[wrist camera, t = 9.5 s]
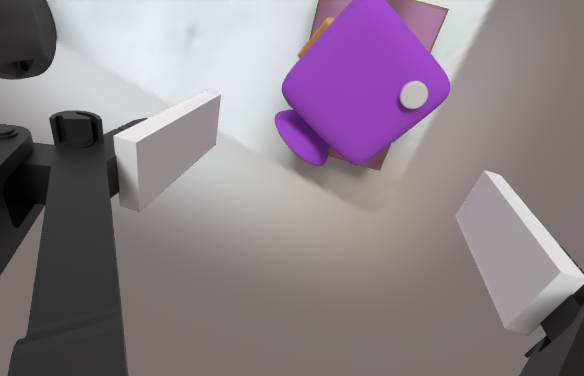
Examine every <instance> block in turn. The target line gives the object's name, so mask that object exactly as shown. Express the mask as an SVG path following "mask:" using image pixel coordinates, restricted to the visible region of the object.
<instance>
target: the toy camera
mask: <svg viewBox="0 0 584 376" xmlns="http://www.w3.org/2000/svg"><path fill="white" fill-rule="evenodd" d="M298 56H299V57H300V60H299V61H298V62H297V63H296V64H295V65H294V67H293V68H292V69H291V70H290V72H289V73H288V74H287V76H286V78H285V79H284V82H283V84H282V93H283V96H284V98H285V99H286V101H287V102H288V105H289V106H290V107H291V108H293V110H287V111H282V112H279V113H277V114H276V116H275V124H276V127H277V129H278V132H279V134H280V135H281V137H282V139H283V140H284V141H285V143H286V144H287V145H288V146H289V148H290V149H291V150H292V151H293V152H294V153H295V154H296V155H298V156H299V157H300V158H301V159H303V160H304V161H306V162H308V163H310V164H312V165H315V166H322V165H324V164H325V162H326V160H327V157H328V153H329V148H330V146H331V147H332V148H333V149H334V150H335V151H336V152H337V153H338V154H339V155H340V156H341V157H342V158H344V159H345V160H346V161H348V162H349V163H351V164H353V165H360V164H363V163H365V162H367V161H369V160H370V159H372V158H373V157H375V156H376V155H377V154H379V153H380V152H381V151H382V150H384V149H385V148H386V147H388V146H389V145H390V144H391V143H393V142H394V141H395V140H397V139H398V138H399V137H400V136H402V135H403V134H404V133H406V132H407V131H408V130H409V129H411V128H412V127H413V126H415V125H416V124H417V123H418V122H420V121H421V120H422V119H423V118H425V117H426V116H427V115H428V114H430V113H431V112H432V111H433V110H435V109H436V108H437V107H438V106H439V105H440V104H441V103H442V102H443V101H444V100H445V99H446V98H447V96H448V94H449V92H450V83H449V79H448V77H447V75H446V74H445V72H444V70H443V69H442V68H441V66H440V65H439V64H438V62H437V61H436V60H435V59H434V57H433V56H432V55H431V54H430V53H429V51H428V50H427V49H426V48H425V47H424V45H423V44H422V43H421V42H420V41H419V39H418V38H417V37H416V36H415V35H414V33H413V32H412V31H411V30H410V29H409V27H408V26H407V25H406V24H405V23H404V21H403V20H402V19H401V18H400V17H399V15H398V14H397V13H396V12H395V11H394V10H393V8H392V7H391V6H390V5H389V4H388V3H387V2H386V1H385V0H352V1H351V2H350V3H349V4H348V5H347V6H346V7H345V8H344V10H343V11H342V12H341V13H340V14H339V15H338V16H337V17H336V18H335V19H334V18H333V17H331V18H327V19H326V20H325V21H324V22H323V24H322V25H321V26H320V27H319V29H318V30H317V31H316V32H315V34H314V35H313V36H312V37H311V39H310V40H309V41H308V42H307V44H306V45H305V46H304V48H303V49H302V50H301V51H300V53H299V54H298Z"/></svg>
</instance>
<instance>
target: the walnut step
mask: <svg viewBox="0 0 584 376" xmlns="http://www.w3.org/2000/svg"><path fill="white" fill-rule="evenodd" d="M351 1H352V0H319V1H318V5H317V9H316V14H315V18H314V22H313V27H312V31H311V35H310V39H311V37H312V36H313V35H314V34H315V32H316V31H317V30H318V29H319V27H320V26H321V25H322V24H323V22H324V21H325V20H326V19H327V18H331V17H333V18H334V19H335V18H336V17H337V16H338V15H339V14H340V13H341V12H342V11H343V10H344V8H345V7H346V6H347V5H348V4H349V3H350V2H351ZM385 1H386V2H387V3H388V4H389V5H390V6H391V7H392V8H393V10H394V11H395V12H396V13H397V14H398V15H399V17H400V18H401V19H402V20H403V21H404V23H405V24H406V25H407V26H408V27H409V29H410V30H411V31H412V32H413V33H414V35H415V36H416V37H417V38H418V39H419V41H420V42H421V43H422V44H423V45H424V47H425V48H426V49H427V50H428V51H429V53H430V52H431V50H432V47H433V45H434V43H435V40H436V38H437V36H438V33H439V31H440V29H441V26H442V24H443V22H444V19H445V17H446V15H447V12H448V10H449V9H447V8H443V7H439V6H435V5H432V4H428V3H424V2H420V1H416V0H385ZM390 145H391V144H390ZM390 145H389V146H388V147H386V148H385V149H384V150H382V151H381V152H380V153H379V154H377V155H376V156H375V157H373V158H372V159H370V160H369V161H367V162H365V163H363V164H360V165H362V166H365V167H369V168H372V169H375V170H379V171H380V169H381V166H382V164H383V162H384V159H385V157H386V155H387V152H388V150H389V148H390ZM328 155H329V156H332V157H335V158H339V159H342V160H345V159H344V158H342V157H341V156H340V155H339V154H338V153H337V152H336V151H335V150H334V149H333V148H332V147H331V146H330V148H329V153H328ZM345 161H346V160H345Z"/></svg>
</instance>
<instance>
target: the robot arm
mask: <svg viewBox="0 0 584 376" xmlns="http://www.w3.org/2000/svg"><path fill="white" fill-rule="evenodd" d="M55 50H56V33H55V27H54V23H53V19H52V16H51V13H50V10H49V7H48V5H47V3H46V1H45V0H0V78H2V79H23V78H29V77H34V76H38V75H40V74H42V73H44V72H45V71H46V70H47V69H48V68H49V67H50V65H51V63H52V61H53V59H54V55H55ZM220 97H221V94H218V93H215V92H211V91H208V90H205V91H203V92H201V93H199V94H197V95H195V96H193V97H191V98H189V99H187V100H185V101H183V102H181V103H179V104H177V105H175V106H173V107H171V108H169V109H167V110H165V111H163V112H161V113H159V114H157V115H155V116H152V117H151V118H143V119H138V120H134V121H131V122H129V123H127V124H125V126H124V125H123V126H121V127H119V128H118V129H114V130H112V131H110V132H108V133H106V134H104V135H103V129H102V119H101V118H100V116H98V115H96V114H94V113H91V112H86V111H64V112H58V113H56V114H54V115H52V116H51V117H50V118H49V119H50V124H51V129H52V134H53V139H54V145H48V144H41V143H33V141H32V137H31V133H30V131H29V130H28V129H26V128H24V127H21V126H14V125H6V124H0V275H1V273H2V272H3V271H4V269H5V267H6V266H7V264H8V263H9V261H10V259H11V258H12V256H13V255H14V253H15V252H16V250H17V249H18V247H19V245H20V244H21V242H22V241H23V239H24V238H25V236H26V234H27V233H28V231H29V230H30V228H31V226H32V225H33V223H34V222H35V220H36V218H37V217H38V215H39V214H40V212H41V211H42V209H43V207H44V206H45V212H44V220H43V226H42V233H41V240H40V248H39V254H38V261H37V268H36V275H35V282H34V290H33V296H32V303H31V310H30V317H29V324H28V330H27V335H26V337H25V338H23V339H19V340H17V342H16V344H15V345H14V348H13V352H12V355H11V360H10V365H9V371H8V376H128V367H127V357H126V347H125V338H124V327H123V317H122V309H121V298H120V288H119V278H118V268H117V258H116V249H115V239H114V229H113V219H112V209H111V200H110V198H111V197H113V196H114V195H116V194H117V193H118V192H119V202H120V206H122V207H125V208H128V209H131V210H135V211H138V212H140V211H141V210H143V209H144V208H145V207H146V206H147V205H148V204H149V203H150V202H152V201H153V200H154V199H155V198H156V197H157V196H158V195H159V194H161V193H162V192H163V191H164V190H165V189H166V188H167V187H168V186H170V185H171V184H172V183H173V182H174V181H175V180H176V179H177V178H179V177H180V176H181V175H182V174H183V173H184V172H185V171H186V170H187V169H189V168H190V167H191V166H192V165H193V164H194V163H195V162H197V161H198V160H199V159H200V158H201V157H202V156H203V155H204V154H206V153H207V152H208V151H209V150H210V149H211V148H212V147H213V146H214V145H216V137H217V127H218V117H219V107H220ZM455 217H456V219H457V221H458V223H459V226H460V228H461V230H462V233H463V235H464V237H465V239H466V242H467V244H468V246H469V248H470V251H471V253H472V255H473V257H474V260H475V262H476V264H477V266H478V269H479V271H480V273H481V275H482V278H483V280H484V282H485V284H486V287H487V289H488V291H489V293H490V296H491V298H492V300H493V302H494V305H495V307H496V309H497V311H498V314H499V316H500V318H501V320H502V323H503V325H504V327H505V329H508V330H511V331H515V332H518V333H521V334H524V335H527V336H529V335H530V334H531V333H532V332H533V331H534V330H535V329H536V328H537V327H538V326H539V325H540V324H541V326H542V327H543V329H544V331H545V333H546V336H545V337H544V338H543V339H542V340H540V341H539V342H538V343H537V344H536V345H535V346H534V347H533V348H531V349H530V350H529V351H528V352H527V353H526V354H525V356H526V357H527V358H529V357H530V358H529V360H528V362H527V363H526V365H525V367H524V368H523V370H522V372H521V374H520V375H519V376H584V272H583V271H582V270H581V269H580V268H578V265H577V264H576V263H575V261H574V260H572V259H571V257H570V255H569V254H568V253H567V252H566V251H565V250H564V248H563V247H561V246H560V245H559V244H558V243H557V242H556V241H555V240H554V239H553V238H552V236H551V235H550V234H549V233H548V231H547V230H546V229H545V228H544V227H543V226H542V224H541V223H540V222H539V221H538V220H537V218H536V217H535V216H534V215H533V214H532V212H531V211H530V210H529V209H528V208H527V206H526V205H525V204H524V203H523V202H522V200H521V199H520V198H519V197H518V196H517V195H516V193H515V192H514V191H513V190H512V188H511V187H510V186H509V185H508V184H507V182H506V181H505V180H504V179H503V178H502V176H501V175H498V174H495V173H491V172H488V171H484V172H483V173H482V175H481V176H480V178H479V179H478V181H477V183H476V184H475V186H474V187H473V189H472V190H471V192H470V194H469V195H468V197H467V199H466V200H465V202H464V203H463V205H462V206H461V208H460V209H459V211H458V213H457V214H456V216H455Z"/></svg>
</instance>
